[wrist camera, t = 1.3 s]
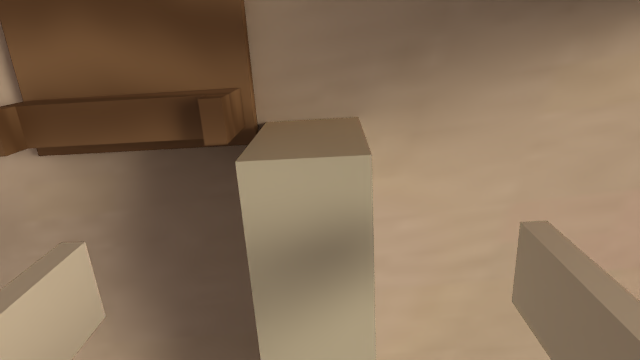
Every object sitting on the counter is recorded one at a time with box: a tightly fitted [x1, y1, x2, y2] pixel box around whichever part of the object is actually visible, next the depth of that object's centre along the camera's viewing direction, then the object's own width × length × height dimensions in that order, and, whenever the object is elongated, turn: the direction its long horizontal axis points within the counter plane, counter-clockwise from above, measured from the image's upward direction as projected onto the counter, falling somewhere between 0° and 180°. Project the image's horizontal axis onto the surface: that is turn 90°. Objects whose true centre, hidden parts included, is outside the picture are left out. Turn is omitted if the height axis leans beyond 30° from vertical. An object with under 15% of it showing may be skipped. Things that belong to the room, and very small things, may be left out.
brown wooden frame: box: [0, 0, 258, 156], centre depth 19 cm, size 14×12×5 cm
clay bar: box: [235, 117, 376, 360], centre depth 22 cm, size 16×5×8 cm, turn 3°
